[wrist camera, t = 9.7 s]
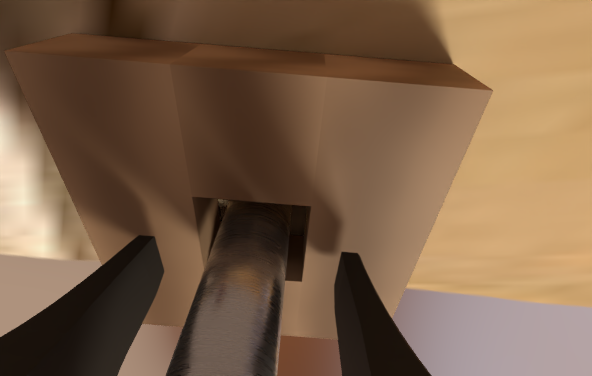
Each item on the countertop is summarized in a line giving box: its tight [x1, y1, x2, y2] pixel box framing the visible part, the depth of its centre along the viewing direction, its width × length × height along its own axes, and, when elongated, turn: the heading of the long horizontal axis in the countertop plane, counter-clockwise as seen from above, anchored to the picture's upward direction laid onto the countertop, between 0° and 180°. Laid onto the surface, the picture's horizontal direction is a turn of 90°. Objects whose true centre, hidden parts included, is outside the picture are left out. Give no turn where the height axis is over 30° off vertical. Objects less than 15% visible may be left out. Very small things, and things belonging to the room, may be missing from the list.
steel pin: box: [166, 200, 292, 376], centre depth 11 cm, size 3×3×10 cm
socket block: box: [4, 33, 493, 340], centre depth 14 cm, size 14×14×3 cm
